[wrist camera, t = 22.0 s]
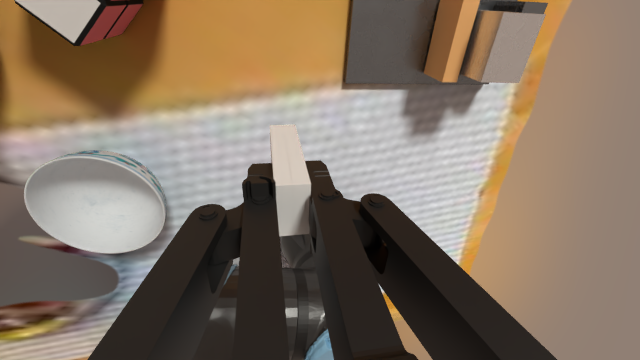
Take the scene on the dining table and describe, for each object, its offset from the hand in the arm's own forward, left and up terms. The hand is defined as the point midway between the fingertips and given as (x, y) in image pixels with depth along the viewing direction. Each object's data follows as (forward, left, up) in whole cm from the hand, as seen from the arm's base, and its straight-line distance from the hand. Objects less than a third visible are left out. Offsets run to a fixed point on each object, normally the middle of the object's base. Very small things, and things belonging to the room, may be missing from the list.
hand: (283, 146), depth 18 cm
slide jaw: (+4, -22, -23) cm, 32 cm away
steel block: (+4, -26, -23) cm, 35 cm away
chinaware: (-16, +22, -25) cm, 37 cm away
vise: (+4, -21, -24) cm, 32 cm away
